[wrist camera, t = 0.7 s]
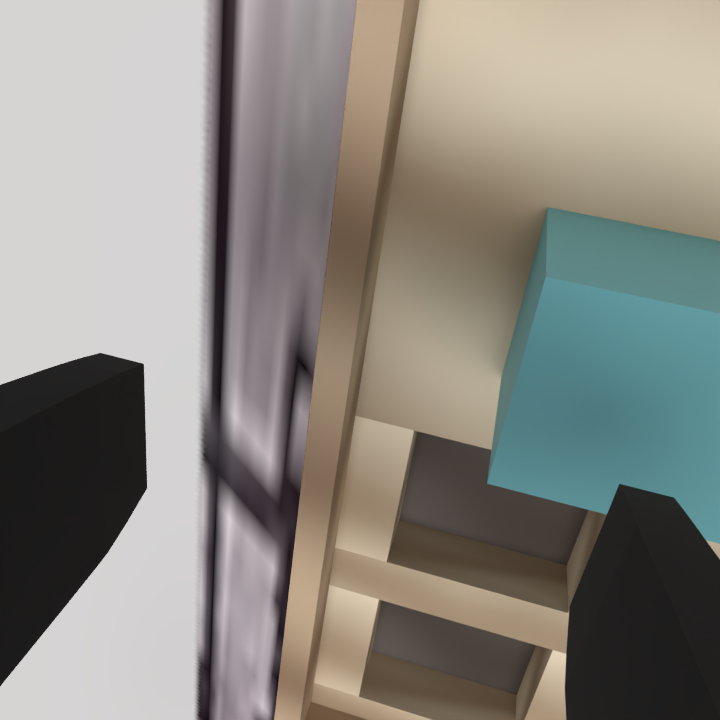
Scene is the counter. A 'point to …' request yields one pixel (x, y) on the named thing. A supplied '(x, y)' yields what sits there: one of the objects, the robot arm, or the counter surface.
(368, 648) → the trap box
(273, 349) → the counter surface
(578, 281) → the block
